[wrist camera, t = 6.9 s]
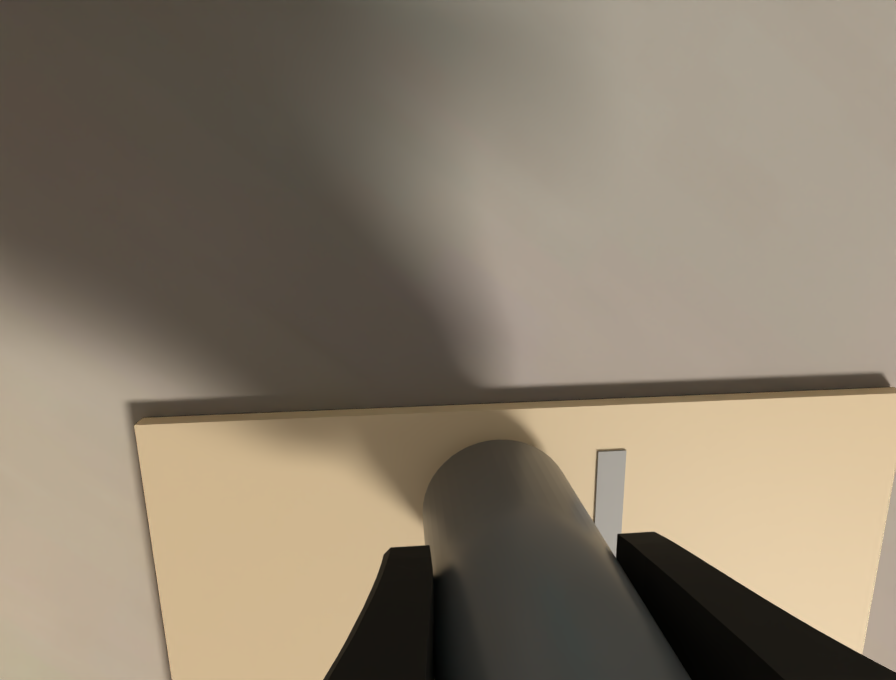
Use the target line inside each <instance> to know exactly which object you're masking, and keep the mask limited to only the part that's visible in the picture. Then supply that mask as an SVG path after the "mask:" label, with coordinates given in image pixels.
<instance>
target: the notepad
mask: <svg viewBox="0 0 896 680" xmlns="http://www.w3.org/2000/svg"><path fill="white" fill-rule="evenodd" d="M134 428H135V435H136V442H137V448H138V455H139V462H140V469H141V475H142V482H143V489H144V495H145V502H146V509H147V516H148V522H149V529H150V536H151V543H152V549H153V556H154V563H155V570H156V576H157V583H158V590H159V597H160V603H161V610H162V617H163V624H164V630H165V637H166V644H167V651H168V657H169V664H170V671H171V678H172V680H323V679H324V677H325V676H326V674H327V672H328V671H329V669H330V667H331V666H332V664H333V662H334V661H335V659H336V658H337V656H338V654H339V652H340V651H341V649H342V647H343V645H344V643H345V642H346V640H347V638H348V636H349V634H350V632H351V630H352V628H353V626H354V624H355V622H356V620H357V618H358V616H359V614H360V612H361V611H362V609H363V607H364V604H365V602H366V600H367V598H368V596H369V593H370V591H371V589H372V587H373V584H374V582H375V579H376V577H377V574H378V572H379V569H380V566H381V563H382V559H383V555H384V554H385V553H386V552H387V551H388V550H389V549H390V548H391V547H405V546H422V545H425V540H424V526H423V502H424V497H425V493H426V491H427V488H428V485H429V483H430V481H431V479H432V478H433V476H434V475H435V473H436V472H437V470H438V469H439V468H440V467H441V466H442V465H443V464H444V463H445V462H446V461H447V460H448V459H449V458H450V457H451V456H453V455H454V454H456V453H457V452H459V451H461V450H463V449H464V448H466V447H468V446H471V445H474V444H477V443H480V442H484V441H489V440H514V441H519V442H523V443H526V444H529V445H531V446H534V447H536V448H538V449H539V450H541V451H543V452H544V453H545V454H547V455H548V456H549V457H551V458H552V459H553V461H554V462H555V463H556V464H557V465H558V466H559V468H560V469H561V471H562V472H563V474H564V475H565V477H566V479H567V480H568V482H569V483H570V485H571V487H572V488H573V490H574V491H575V493H576V495H577V496H578V498H579V499H580V501H581V503H582V504H583V506H584V507H585V509H586V511H587V512H588V514H589V515H590V517H591V519H592V520H593V522H594V524H595V525H596V527H597V528H598V530H599V532H600V533H601V535H602V536H603V538H604V540H605V541H606V543H607V544H608V546H609V548H610V549H611V551H612V552H613V554H614V556H615V557H616V548H617V534H622V533H638V532H656V533H658V534H660V535H662V536H664V537H666V538H667V539H669V540H671V541H673V542H674V543H676V544H678V545H679V546H681V547H683V548H684V549H686V550H687V551H689V552H691V553H692V554H694V555H696V556H697V557H699V558H700V559H702V560H704V561H705V562H707V563H708V564H710V565H711V566H713V567H715V568H716V569H718V570H719V571H721V572H723V573H724V574H726V575H727V576H729V577H731V578H732V579H734V580H735V581H737V582H739V583H740V584H742V585H743V586H745V587H747V588H748V589H750V590H751V591H753V592H755V593H756V594H758V595H760V596H761V597H763V598H764V599H766V600H768V601H769V602H771V603H773V604H774V605H776V606H778V607H779V608H781V609H783V610H784V611H786V612H788V613H789V614H791V615H793V616H794V617H796V618H798V619H800V620H801V621H803V622H805V623H806V624H808V625H810V626H812V627H813V628H815V629H817V630H818V631H820V632H822V633H824V634H826V635H827V636H829V637H831V638H833V639H835V640H836V641H838V642H840V643H842V644H844V645H845V646H847V647H849V648H851V649H853V650H854V651H856V652H858V653H860V654H862V653H863V647H864V641H865V636H866V630H867V625H868V619H869V613H870V608H871V602H872V597H873V591H874V586H875V580H876V574H877V569H878V563H879V558H880V552H881V547H882V541H883V535H884V530H885V524H886V519H887V513H888V507H889V502H890V496H891V491H892V485H893V480H894V474H895V468H896V388H894V387H884V388H860V389H835V390H811V391H786V392H762V393H737V394H713V395H688V396H664V397H639V398H615V399H591V400H566V401H542V402H517V403H493V404H468V405H444V406H419V407H395V408H370V409H346V410H322V411H297V412H273V413H248V414H224V415H199V416H175V417H150V418H142V419H141V420H140V421H139V422H137V423H136V424H135V425H134Z"/></svg>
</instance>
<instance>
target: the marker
mask: <svg viewBox="0 0 896 680" xmlns="http://www.w3.org/2000/svg"><path fill="white" fill-rule="evenodd" d="M423 526H424V540H425V545H430V552H431V559H432V567H433V597H434V677H435V680H691V678H690V676H689V675H688V673H687V672H686V670H685V668H684V667H683V665H682V663H681V662H680V660H679V659H678V657H677V655H676V654H675V652H674V651H673V649H672V647H671V646H670V644H669V643H668V641H667V639H666V638H665V636H664V635H663V633H662V631H661V630H660V628H659V626H658V625H657V623H656V622H655V620H654V618H653V617H652V615H651V614H650V612H649V610H648V609H647V607H646V606H645V604H644V602H643V601H642V599H641V598H640V596H639V594H638V593H637V591H636V589H635V588H634V586H633V585H632V583H631V581H630V580H629V578H628V577H627V575H626V573H625V572H624V570H623V569H622V567H621V565H620V564H619V562H618V561H617V559H616V557H615V556H614V554H613V552H612V551H611V549H610V548H609V546H608V544H607V543H606V541H605V540H604V538H603V536H602V535H601V533H600V532H599V530H598V528H597V527H596V525H595V524H594V522H593V520H592V519H591V517H590V515H589V514H588V512H587V511H586V509H585V507H584V506H583V504H582V503H581V501H580V499H579V498H578V496H577V495H576V493H575V491H574V490H573V488H572V487H571V485H570V483H569V482H568V480H567V479H566V477H565V475H564V474H563V472H562V471H561V469H560V468H559V466H558V465H557V464H556V463H555V462H554V461H553V459H552V458H551V457H549V456H548V455H547V454H545V453H544V452H543V451H541V450H539V449H538V448H536V447H534V446H531V445H529V444H526V443H523V442H519V441H514V440H489V441H484V442H480V443H477V444H474V445H471V446H468V447H466V448H464V449H463V450H461V451H459V452H457V453H456V454H454V455H453V456H451V457H450V458H449V459H448V460H447V461H446V462H445V463H444V464H443V465H442V466H441V467H440V468H439V469H438V470H437V472H436V473H435V475H434V476H433V478H432V479H431V481H430V483H429V485H428V488H427V491H426V493H425V497H424V502H423Z"/></svg>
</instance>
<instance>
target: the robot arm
mask: <svg viewBox="0 0 896 680" xmlns="http://www.w3.org/2000/svg"><path fill="white" fill-rule="evenodd" d="M616 559H617V561H618V562H619V564H620V565H621V567H622V569H623V570H624V572H625V573H626V575H627V577H628V578H629V580H630V581H631V583H632V585H633V586H634V588H635V589H636V591H637V593H638V594H639V596H640V598H641V599H642V601H643V602H644V604H645V606H646V607H647V609H648V610H649V612H650V614H651V615H652V617H653V618H654V620H655V622H656V623H657V625H658V626H659V628H660V630H661V631H662V633H663V635H664V636H665V638H666V639H667V641H668V643H669V644H670V646H671V647H672V649H673V651H674V652H675V654H676V655H677V657H678V659H679V660H680V662H681V663H682V665H683V667H684V668H685V670H686V672H687V673H688V675H689V676H690V678H691V680H896V673H895V672H893V671H892V670H890V669H888V668H886V667H884V666H882V665H880V664H878V663H876V662H874V661H873V660H871V659H869V658H867V657H865V656H863V655H862V654H860V653H858V652H856V651H854V650H853V649H851V648H849V647H847V646H845V645H844V644H842V643H840V642H838V641H836V640H835V639H833V638H831V637H829V636H827V635H826V634H824V633H822V632H820V631H818V630H817V629H815V628H813V627H812V626H810V625H808V624H806V623H805V622H803V621H801V620H800V619H798V618H796V617H794V616H793V615H791V614H789V613H788V612H786V611H784V610H783V609H781V608H779V607H778V606H776V605H774V604H773V603H771V602H769V601H768V600H766V599H764V598H763V597H761V596H760V595H758V594H756V593H755V592H753V591H751V590H750V589H748V588H747V587H745V586H743V585H742V584H740V583H739V582H737V581H735V580H734V579H732V578H731V577H729V576H727V575H726V574H724V573H723V572H721V571H719V570H718V569H716V568H715V567H713V566H711V565H710V564H708V563H707V562H705V561H704V560H702V559H700V558H699V557H697V556H696V555H694V554H692V553H691V552H689V551H687V550H686V549H684V548H683V547H681V546H679V545H678V544H676V543H674V542H673V541H671V540H669V539H667V538H666V537H664V536H662V535H660V534H658V533H656V532H638V533H622V534H617V548H616ZM323 680H435V677H434V597H433V567H432V559H431V552H430V545H422V546H405V547H391V548H390V549H389V550H388V551H387V552H386V553H385V554H384V555H383V559H382V563H381V566H380V569H379V572H378V574H377V577H376V579H375V582H374V584H373V587H372V589H371V591H370V593H369V596H368V598H367V600H366V602H365V604H364V607H363V609H362V611H361V612H360V614H359V616H358V618H357V620H356V622H355V624H354V626H353V628H352V630H351V632H350V634H349V636H348V638H347V640H346V642H345V643H344V645H343V647H342V649H341V651H340V652H339V654H338V656H337V658H336V659H335V661H334V662H333V664H332V666H331V667H330V669H329V671H328V672H327V674H326V676H325V677H324V679H323Z"/></svg>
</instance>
